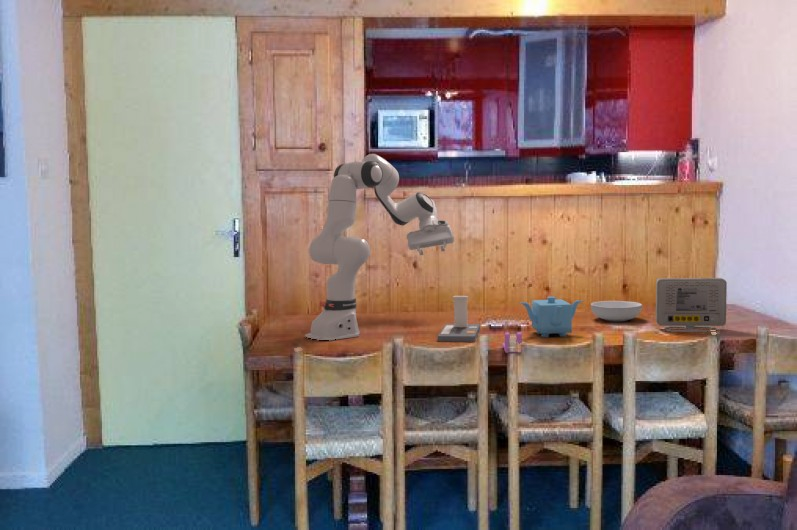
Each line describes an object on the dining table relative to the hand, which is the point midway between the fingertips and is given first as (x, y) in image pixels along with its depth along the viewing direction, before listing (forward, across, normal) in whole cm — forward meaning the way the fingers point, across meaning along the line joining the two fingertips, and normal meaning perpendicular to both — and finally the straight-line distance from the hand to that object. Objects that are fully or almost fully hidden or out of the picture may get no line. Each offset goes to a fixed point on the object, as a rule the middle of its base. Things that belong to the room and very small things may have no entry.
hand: (432, 252), depth 356 cm
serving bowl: (+32, +72, +26) cm, 83 cm away
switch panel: (+47, +7, -3) cm, 48 cm away
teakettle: (+52, +42, 0) cm, 67 cm away
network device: (+52, +96, +12) cm, 110 cm away
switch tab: (+42, +8, -1) cm, 43 cm away
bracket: (+69, +26, -19) cm, 76 cm away
